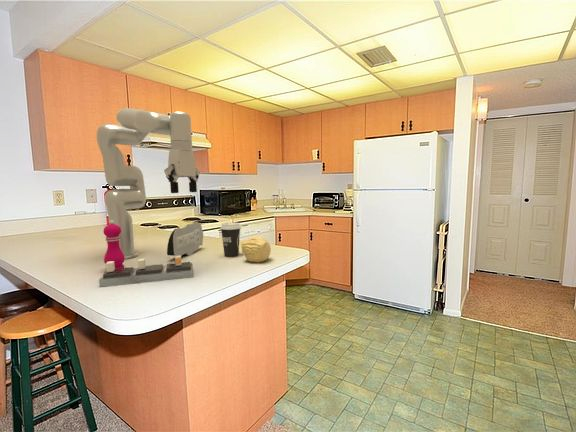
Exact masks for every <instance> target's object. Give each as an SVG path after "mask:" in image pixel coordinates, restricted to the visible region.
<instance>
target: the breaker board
mask: <svg viewBox="0 0 576 432" xmlns="http://www.w3.org/2000/svg"><path fill="white" fill-rule="evenodd" d="M193 267H194V265H193V262H190V261H184V262H181V265H178V266H176V262H174V263H167V264H166V265H163V264H153V265H145V269H138V267H134V266H131V267H124V268H118V269H115V270H114V271H113V272H107V271H106V270H105V271H104V273H103V274H102V275H101V276H100V278H99V279H98V283H99V287H100V288H102V287H104V286H105V287H112V285H114V286H120V285H121V284H123V285H131V284H130V283H133V284H139V283H140V284H141V282H142V283H149V282H151V283H152V282H161V281H169V280H178V279H188V278H194V268H193ZM121 286H122V285H121Z"/></svg>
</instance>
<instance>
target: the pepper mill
mask: <svg viewBox="0 0 576 432" xmlns="http://www.w3.org/2000/svg"><path fill="white" fill-rule="evenodd" d="M109 224H110V225H109ZM120 233H121V228H120V227H119V226H118V225H116V224H114V221H113V220H111V221H109V220H108V224H107V225H105V226H104V227H103V234H104V236H105V242H107V243H106V244H107V250H106V251H105V254H104V258H103V262H104V264H105V265H106V263H107V262H109V261H114V265H115V269H118V268H125V264H123V263H125V261H126V259H125V256H124V254H123V252H122V251H121V249H120V246H119V240H120V236H119V234H120Z"/></svg>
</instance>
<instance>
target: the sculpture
mask: <svg viewBox="0 0 576 432" xmlns="http://www.w3.org/2000/svg"><path fill="white" fill-rule="evenodd" d="M271 249H272V248H271V245H270V243H269V241H268V240H266V239H265V238H264V237H263V236H258V235H257V236H250V237H248V238H245V239H243V241H242V243H241V252H242V253H243V255H244V257H245V259H246V260H247V261H248V262H250V263H261V262H264V261H266V260H268V259H269V258H270V255H271Z"/></svg>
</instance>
